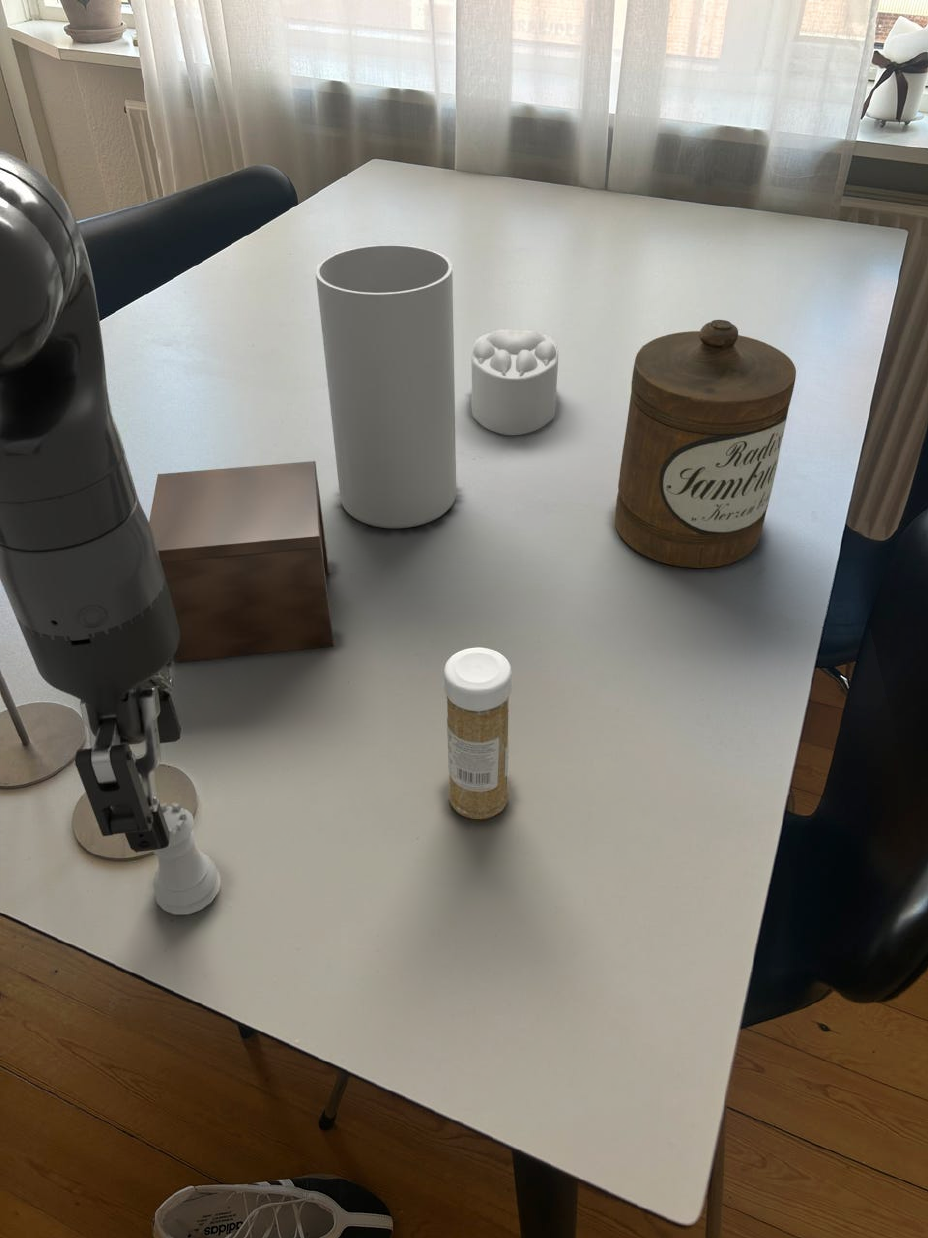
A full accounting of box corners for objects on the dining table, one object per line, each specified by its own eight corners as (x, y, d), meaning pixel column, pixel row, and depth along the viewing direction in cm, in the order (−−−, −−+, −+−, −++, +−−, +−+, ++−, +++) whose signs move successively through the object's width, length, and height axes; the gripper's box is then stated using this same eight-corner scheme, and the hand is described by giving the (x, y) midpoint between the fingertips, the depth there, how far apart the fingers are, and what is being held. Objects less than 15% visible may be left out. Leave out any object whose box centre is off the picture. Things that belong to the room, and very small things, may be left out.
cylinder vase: (478, 489, 106) (478, 259, 90) (412, 545, 98) (398, 304, 82) (386, 457, 111) (371, 236, 95) (316, 508, 103) (287, 276, 87)
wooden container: (678, 587, 92) (715, 373, 78) (586, 513, 102) (603, 311, 88) (791, 540, 98) (844, 333, 84) (693, 474, 108) (726, 278, 93)
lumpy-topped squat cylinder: (555, 386, 124) (559, 321, 119) (555, 436, 114) (559, 368, 109) (475, 384, 125) (474, 319, 119) (467, 433, 115) (467, 366, 110)
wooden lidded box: (173, 663, 85) (143, 552, 77) (183, 580, 94) (157, 473, 86) (333, 646, 86) (319, 536, 78) (328, 566, 95) (315, 460, 87)
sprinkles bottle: (518, 788, 73) (523, 657, 65) (490, 831, 70) (492, 700, 62) (465, 766, 75) (464, 636, 66) (436, 807, 72) (430, 676, 63)
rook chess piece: (222, 912, 65) (200, 839, 60) (155, 924, 65) (127, 851, 60) (221, 858, 69) (201, 785, 64) (157, 869, 68) (131, 796, 63)
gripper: (38, 514, 54) (111, 715, 65) (-21, 688, 44) (78, 896, 54) (174, 501, 55) (225, 702, 66) (148, 669, 44) (214, 877, 55)
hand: (158, 789), depth 60 cm, fingers open, 8 cm apart
